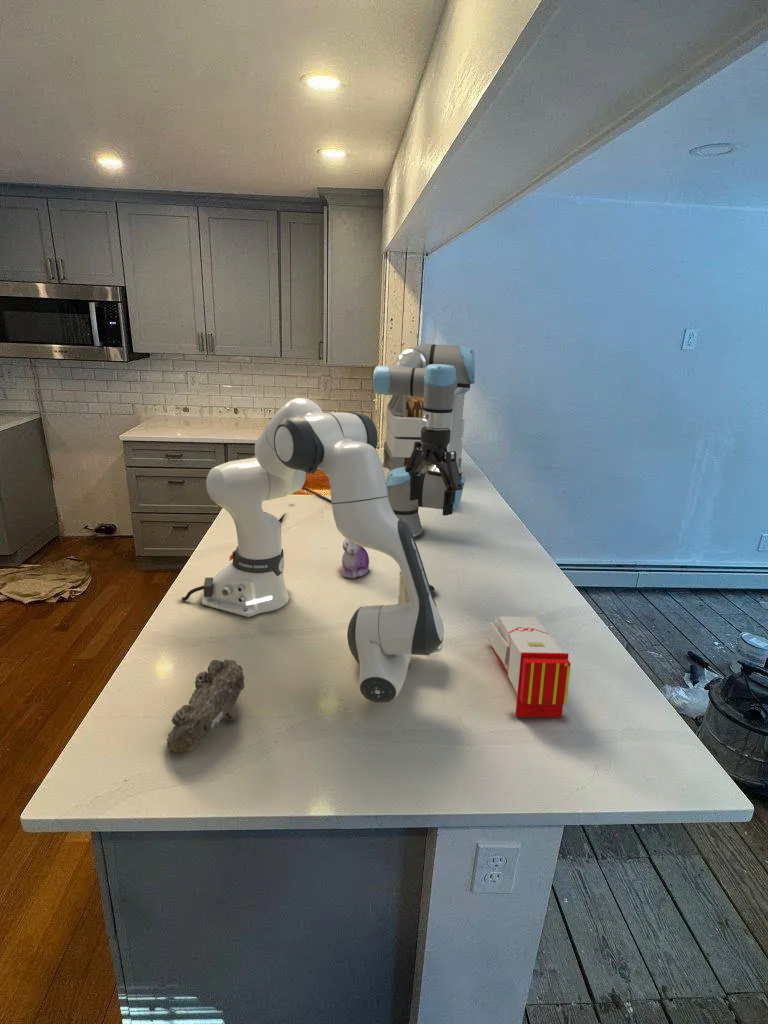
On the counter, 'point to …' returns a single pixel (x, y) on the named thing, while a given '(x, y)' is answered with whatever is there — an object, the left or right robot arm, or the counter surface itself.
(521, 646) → the toy
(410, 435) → the transformer
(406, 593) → the thermos bottle
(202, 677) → the fossil
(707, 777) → the counter surface
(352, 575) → the figurine
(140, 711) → the counter surface
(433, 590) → the lid
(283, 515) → the feather
